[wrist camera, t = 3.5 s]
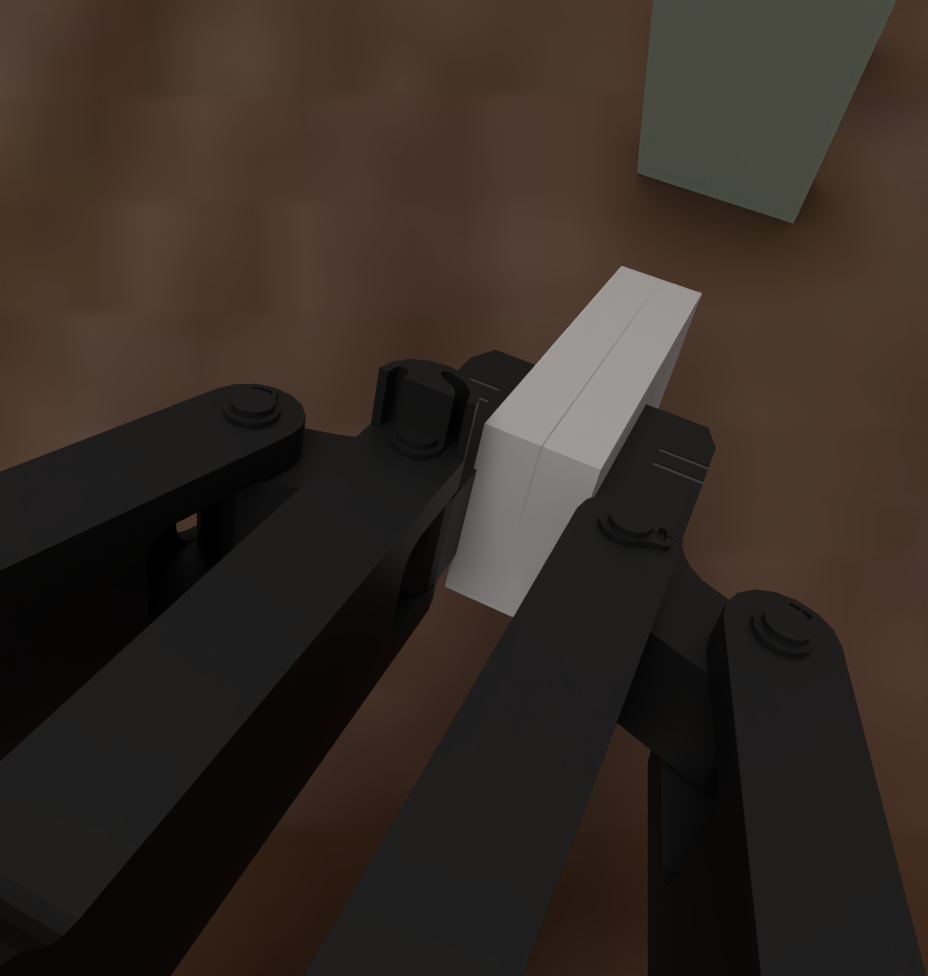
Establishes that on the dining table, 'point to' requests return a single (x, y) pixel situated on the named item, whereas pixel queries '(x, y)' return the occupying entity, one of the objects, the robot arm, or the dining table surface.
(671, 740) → the robot arm
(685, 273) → the dining table surface
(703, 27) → the domino
